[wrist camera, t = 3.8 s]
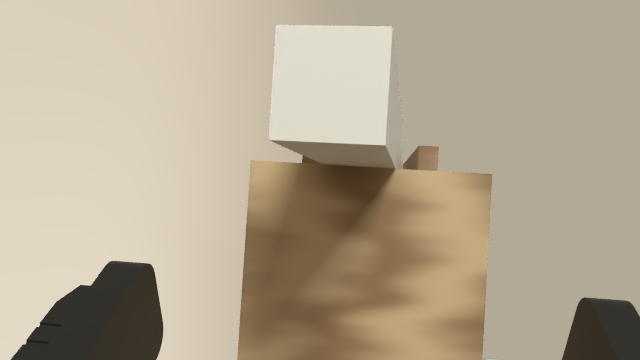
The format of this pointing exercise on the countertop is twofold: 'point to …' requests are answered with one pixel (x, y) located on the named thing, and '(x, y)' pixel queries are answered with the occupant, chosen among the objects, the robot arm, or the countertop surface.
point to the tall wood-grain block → (364, 262)
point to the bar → (337, 95)
